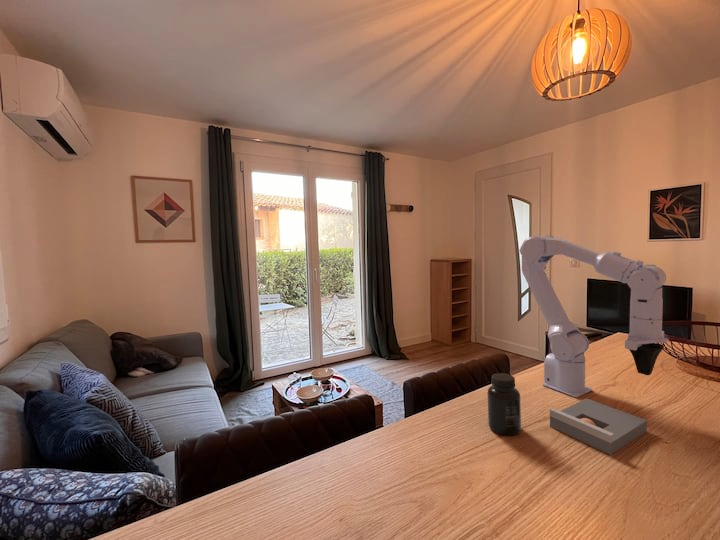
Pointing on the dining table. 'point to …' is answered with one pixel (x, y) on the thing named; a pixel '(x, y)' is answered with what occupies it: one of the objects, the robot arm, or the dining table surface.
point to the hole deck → (598, 425)
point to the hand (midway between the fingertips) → (644, 373)
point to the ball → (588, 421)
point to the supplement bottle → (504, 405)
